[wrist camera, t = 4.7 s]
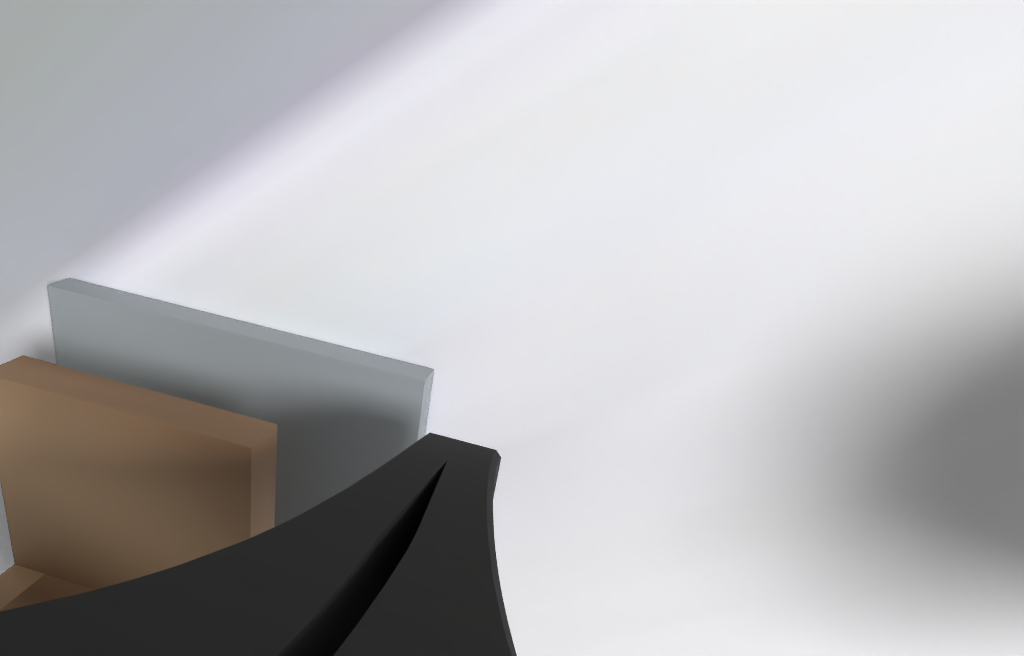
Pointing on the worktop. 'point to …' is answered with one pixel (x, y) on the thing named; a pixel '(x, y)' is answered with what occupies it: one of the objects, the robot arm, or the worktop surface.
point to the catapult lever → (120, 480)
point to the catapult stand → (252, 383)
